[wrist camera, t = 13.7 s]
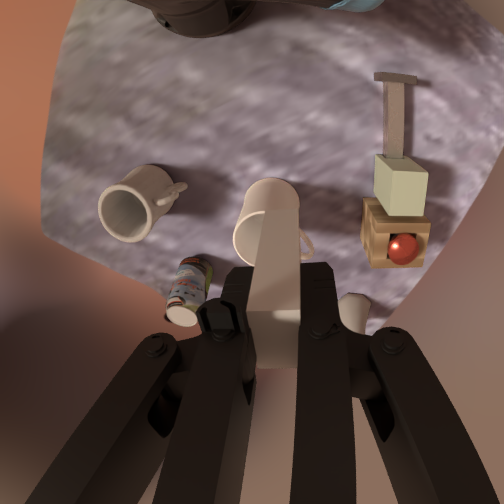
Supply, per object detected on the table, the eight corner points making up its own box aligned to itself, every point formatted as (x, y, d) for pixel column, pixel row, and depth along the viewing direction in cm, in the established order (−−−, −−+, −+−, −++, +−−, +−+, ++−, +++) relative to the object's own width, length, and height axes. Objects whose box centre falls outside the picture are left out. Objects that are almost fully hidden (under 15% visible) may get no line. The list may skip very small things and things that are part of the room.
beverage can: (205, 248, 53) (185, 291, 43) (222, 281, 56) (207, 328, 46) (175, 257, 55) (150, 299, 44) (193, 288, 58) (174, 333, 48)
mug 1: (138, 219, 51) (112, 248, 43) (120, 171, 47) (87, 193, 39) (202, 204, 49) (183, 233, 40) (185, 150, 44) (160, 169, 36)
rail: (373, 72, 35) (381, 71, 31) (406, 76, 34) (416, 76, 31) (372, 197, 45) (378, 207, 41) (401, 198, 44) (409, 208, 40)
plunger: (378, 214, 42) (391, 236, 36) (405, 214, 42) (421, 236, 36) (375, 240, 45) (387, 265, 39) (401, 240, 44) (415, 264, 38)
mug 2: (326, 214, 47) (335, 255, 37) (290, 249, 51) (288, 295, 41) (267, 166, 44) (260, 194, 34) (233, 206, 48) (217, 244, 38)
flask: (345, 287, 54) (353, 326, 45) (376, 299, 55) (387, 337, 46) (326, 313, 58) (329, 353, 49) (356, 324, 58) (363, 363, 50)
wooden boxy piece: (363, 197, 45) (377, 223, 37) (411, 198, 44) (432, 223, 36) (360, 237, 48) (371, 268, 41) (405, 237, 47) (423, 267, 40)
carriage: (375, 154, 41) (392, 170, 33) (406, 155, 40) (428, 172, 33) (373, 192, 44) (388, 215, 36) (403, 193, 43) (422, 216, 36)
